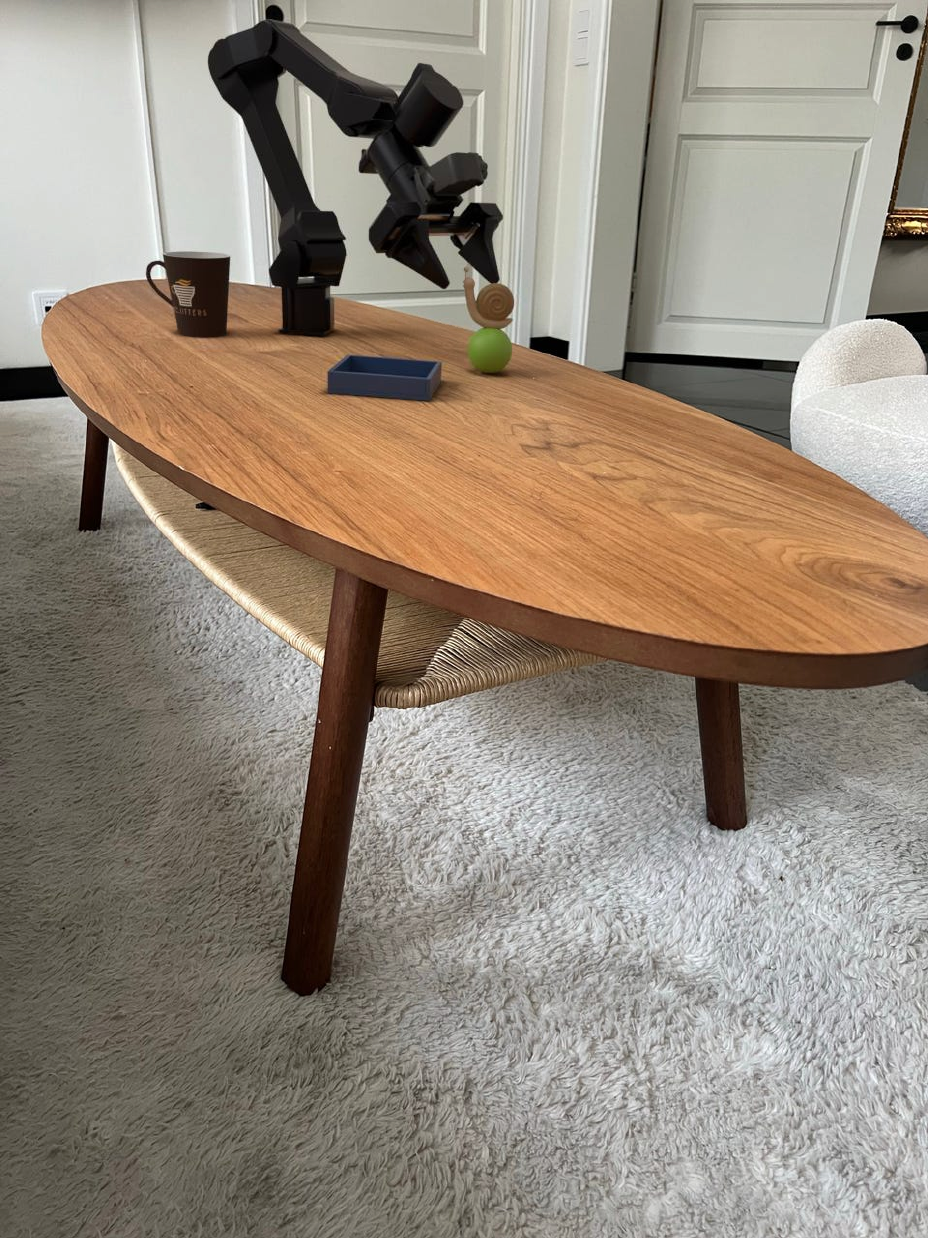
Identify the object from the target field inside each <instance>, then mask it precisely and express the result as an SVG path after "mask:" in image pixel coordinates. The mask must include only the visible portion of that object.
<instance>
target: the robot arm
mask: <svg viewBox="0 0 928 1238" xmlns="http://www.w3.org/2000/svg"><path fill="white" fill-rule="evenodd" d="M207 68H208V72H209V75H210V78H211V80H212V82H213V84H214V86H215V87H216V90H217V91H218V93H219V95H220V98H221V99H222V100H223V101H224V102H226V104H227V105H228V106H229V107H230V108H232V109H233V110H234V111H235V112H236V113H237V114H238V115H239V116H240V117H241V119H242V122H243V125H244V127H245V129H246V132H247V134H248V137H249V139H250V142H251V144H252V147H253V150H254V153H255V155H256V157H257V160H258V162H259V165H260V168H261V171H262V172H263V175H264V177H265V181H266V183H267V185H268V188H269V191H270V193H271V196H272V198H273V201H274V204H275V206H276V209H277V211H278V213H279V218H280V223H279V228H278V234H277V235H278V236H277V241H278V245H279V250H280V251H279V253H278V254H277V256H276V258H275V259H274V260H273V262H272V264H271V265H270V267H269V268H268V274H269V278H270V282H271V285H272V287H273V286H274V287H278V288H281V289H280V290H281V291H280V292H281V315H282V316H281V319H282V326H281V327H280V328H279V329H278V333H282V334H295V335H307V336H318V337H319V336H321V337H324V336H326V335H327V334H329V333H331V332H332V331H333V330H334V329H335V298H334V297H332V296H331V287H339V286H340V284H341V280H342V275H343V273H344V268H345V263H346V259H347V257H348V253H347V248H346V244H345V241H346V240H347V237H346V236H345V235H344V233H343V231H342V229H341V227H340V223H339V220H338V216H337V215H336V213H335V212H334V211H333V210H321V209H320V208H319V207H318V206H317V204H315V203H316V202H315V201H314V198H313V196H312V193H311V191H310V189H309V188H310V187H309V186H308V183H307V181H306V178H305V176H304V173H303V170H302V168H301V165H300V163H299V160H298V157H297V155H296V153H295V149H294V146H293V144H292V142H291V140H290V137H289V134H288V132H287V129H286V127H285V124H284V121H283V119H282V117H281V114H280V112H279V109H278V106H277V98H278V93H279V88H280V87H279V86H280V81H279V78H281V77H282V76H283V75H285V74H286V73H289V74H290V75H291V76H293V77H294V78H295V79H296V80H297V81H299V82H300V83H301V84H302V85H304V86H305V87H306V88H307V89H309V90H310V92H312V93H314V94H315V95H316V96H317V97H319V99H320V100H322V101H323V103H324V104H325V105H326V109H327V114H328V116H329V117H330V119H331V120H332V121H333V123H335V125H336V126H337V127H338V129H339V130H340V131H341V132H342V133H343V134H344V135H345V136H347V137H349V138H359V139H369V140H372V141H371V142H370V144H369V145H368V148H362V149H361V150H360V152H361V153H360V160H359V162H358V173H359V174H366V175H367V174H369V175H378V176H379V178H380V179H381V181H382V183H383V184H384V186H385V188H386V189H387V191H388V193H389V196H388V197H387V199H386V200H385V202H386V203H385V205H384V206H383V207H382V209H381V210H380V212H379V213H378V215H376V218H375V219H374V220H373V222H372V223H371V225H370V226H369V228H368V242H369V243H370V245H371V247H372V248H373V250H374V252H375V254H384V255H385V257H386V258H387V259H391V260H392V259H393V260H394V261H396V262H398V263H399V264H401V265H403V266H405V267H406V268H408V269H410V270H412V271H414V272H415V273H417V274H418V275H420V276H421V277H423V278H424V279H426V280H428V281H429V282H431V283H432V284H434V285H436V286H437V287H438V288H440V289H442V290H446V289H447V288H448V287H449V285H450V284H451V281H450V279H449V277H448V274H447V272H446V270H445V267H444V266H443V264H442V262H441V260H440V258H439V256H438V254H437V252H436V250H435V248H434V246H433V245H432V243H431V240H430V237H449V239H450V241H451V243H452V244H453V246H454V247H456V248H457V249H458V250H459V251H458V252H457V254H458V255H459V256H460V257H461V258H462V259H463V260H464V261H466V262H467V263H468V265H470V266H471V267H472V268H473V269H474V270H475V271H476V272H477V273H478V274H479V275H480V276H481V277H483V278H484V280H486V281H487V282H488V283H489V284H492V283H499V282H500V280H501V278H500V274H499V269H498V263H497V261H496V260H497V259H496V255H495V249H494V242H493V239H494V238H493V237H494V232H495V231H496V230H497V229H498V228H499V225H500V223H501V222H502V221H503V219H504V215H503V213H502V211H501V210H500V208H499V207H498V205H497V203H495V202H473V201H472V202H469V203H468V205H466V207H465V209H464V210H463V211H462V213H461V214H460V215H455V209H456V208H459V207H460V205H461V204H462V203H463V201H464V198H463V197H462V195H463V194H465V193H467V192H468V191H470V190H472V189H473V188H475V187H480V186H482V185H483V184H484V183H485V180H487V178H488V175H489V172H488V168H489V165H488V163H487V162H486V161H485V160H484V159H483V157H482V155H480V154H479V153H478V152H460V151H459V152H458V151H457V152H456V151H455V152H451V153H449V154H447V155H446V156H444V157H442V158H440V160H437V161H436V162H435V163H433V164H432V165H430V164H429V163H428V160H427V159H426V158H425V156H424V154H423V152H422V151H421V149H420V148H424V147H426V148H433V147H435V146H436V145H437V144H438V143H439V141H440V140H441V138H442V137H443V135H444V134H445V133H446V131H447V130H448V128H449V127H450V125H451V124H452V123H453V122H454V120H455V119H456V117H457V116H458V115H459V112H460V111H461V110H462V108H463V107H464V98H463V95H462V94H461V92H460V90H459V88H458V87H457V86H456V85H453V84H452V82H451V81H450V80H448V79H447V78H446V77H444V76H443V75H442V74H440V73H438V72H437V71H436V70H435V68H434V67H433V65H432V64H428V63H423V62H418V63H417V64H416V66H415V67H414V69H413V71H412V73H411V76H410V78H409V79H408V81H407V83H406V84H405V86H404V87H403V89H402V91H401V92H400V94H398V93H396V91H395V90H394V89H392V88H391V87H388V86H386V85H384V84H382V83H380V82H377V81H375V80H373V79H369V78H366V77H363V76H360V75H358V74H355V73H353V72H350V70H348V69H347V68H346V67H345V66H343V65H342V64H341V63H340V62H338V61H337V60H335V59H334V58H333V57H332V56H331V55H329V54H328V52H325V51H324V50H323V49H322V48H320V47H319V46H318V45H316V44H315V43H314V42H313V41H311V40H310V39H309V38H308V37H306V36H305V35H304V34H303V33H302V32H301V31H300V30H299V28H298V26H297V27H296V26H295V25H294V24H293V23H290V22H285V21H281V20H274V19H270V18H266V19H264V20H261V21H258V23H256V24H255V25H254V26H252V27H250V28H247V29H244V30H241V31H238V32H235V33H232V34H229V35H227V36H225V37H224V38H220V39H217V40H216V41H215V42H214V44H213V46H212V47H211V49H210V50H209V52H208V55H207Z"/></svg>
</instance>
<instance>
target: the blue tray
mask: <svg viewBox="0 0 928 1238" xmlns="http://www.w3.org/2000/svg"><path fill="white" fill-rule="evenodd" d="M442 365H443V363H442V361H437V360H428V359H427V360H426V359H425V360H424V359H413V358H402V357H401V358H399V357H388V356H387V357H385V356H376V355H375V356H373V355H362V354H361V355H360V354H349V353H348V354H347V355H344V357H343V358H341V359H340V360H339V361H338V362H336V364H334V365H333V366H331V368H330V369H328V371H327V375H326V376H327V379H326V380H327V393H328V394H334V395H345V396H346V395H348V396H349V395H350V396H360V397H371V398H372V397H373V398H384V399H385V398H386V399H396V400H397V399H398V400H407V401H408V400H410V401H422V402H430V401H431V400H432V398H433V396H434V394H435V393H436V391H437V389H438V388H439V386H440V384H441V382H442V368H443V367H442Z"/></svg>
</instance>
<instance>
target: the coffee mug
mask: <svg viewBox="0 0 928 1238" xmlns="http://www.w3.org/2000/svg"><path fill="white" fill-rule="evenodd" d="M162 258H163V261H162V260H152V261H151V262H149V263H148V264H147V265H146V269H145V276H146V280H147V283H148V284H149V286H150V287H151V289H152V290H153V291H154V292H155V293H156V295H158V296H159V297H160V298H161V299H162V300H163V301H165V302H166V303H167V304H168V305H169V306H171V307H172V308H173V314H174V319H175V323H176V328H177V329H176V330H177V334H179V335H181V336H185V337H193V338H194V337H195V338H213V337H214V338H215V337H222V336H225V335H227V332H228V331H227V330H228V329H227V328H228V311H229V292H230V291H229V289H230V273H231V255H230V254H227V253H221V252H214V251H213V252H212V251H211V252H210V251H196V250H195V251H193V250H191V251H190V250H189V251H187V250H183V251H181V250H180V251H178V250H177V251H166V252H163V253H162ZM155 266H161V267H162V268H164V269H165V273H166V277H167V283H168V288H169V293H170V297H168V296H167V295H166V294H165V293H164V292H162V291H161V290H160V289H159V288H158V287H157V285H156V284H155V283H154V281H153V280H152V275H151V272H152V269H153V268H154V267H155Z"/></svg>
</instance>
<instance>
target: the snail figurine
mask: <svg viewBox="0 0 928 1238" xmlns="http://www.w3.org/2000/svg"><path fill="white" fill-rule="evenodd" d="M469 270H470V269H469V267H468V266H464V268H463V271H464V279H463V280H462V284H463V285H462V286H463V289H464V297H465V303H466V307H467V311H468V314H469V317H470V319H471V320H472V321H473V322H474V323H475V324H477V325H478V326H480V327H481V328H479V329H478V330H476V331H475V332H474V333H473V334H472V335H471V336H470V338H469V341H468V343H467V350H466V351H467V357H468V360H469V362H470V364H471V365H472V366H473V367H474V368H475V370H477V371H479V372H481V373H484V374H495V373H498V372H500V371H502V370H504V369H505V368H506V366H507V365H509V363H510V361H511V358H512V355H513V345H512V341H511V339H510V337H509V336H508V334H507V333H506V332H505V331H504V330H502V329H505V328H506V327H508V326H510V324H511V323H512V322H513V321H514V319H513V318H512V317H509V316H510V315H511V314H512V312H513V311H514V308H515V307H514V306H515V297H514V293H513V292H512V290H511V289H510V288H509V287H508V286H506V285H505V284H503V283H499V282H498V283H492V284H491V283H489V284H487V285H485V286H484V287H483V288H481V290H480V291H479V292H478V293H477V296H476V295H475V286H476V281H475V279H474V278H473V277H470V276H468V277H467V273H468V272H469Z"/></svg>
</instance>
